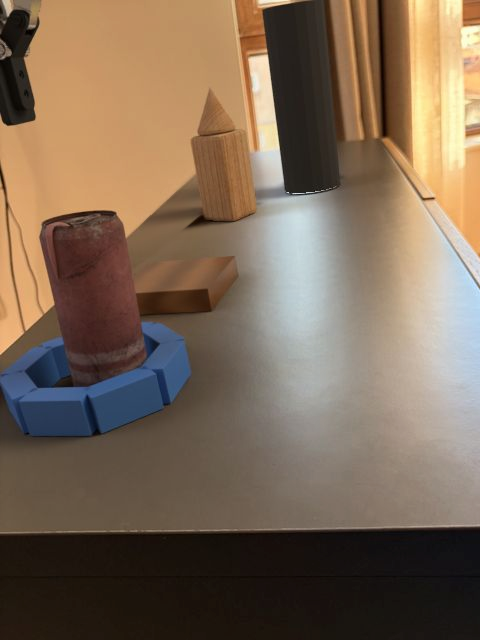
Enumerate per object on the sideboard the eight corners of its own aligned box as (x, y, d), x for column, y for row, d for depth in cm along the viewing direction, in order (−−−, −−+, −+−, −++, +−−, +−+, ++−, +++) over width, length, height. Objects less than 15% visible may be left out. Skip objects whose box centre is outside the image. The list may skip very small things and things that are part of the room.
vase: (342, 179, 121) (326, 1, 109) (338, 191, 112) (320, -3, 100) (288, 185, 123) (267, 11, 111) (280, 197, 114) (256, 9, 102)
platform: (114, 316, 69) (109, 294, 68) (152, 281, 78) (148, 262, 77) (211, 311, 66) (207, 288, 65) (238, 276, 75) (235, 255, 74)
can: (58, 402, 51) (15, 227, 45) (104, 368, 56) (71, 208, 50) (122, 410, 48) (85, 226, 43) (164, 374, 54) (136, 207, 48)
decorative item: (203, 221, 105) (179, 91, 97) (228, 211, 110) (208, 86, 101) (234, 222, 101) (212, 87, 93) (259, 211, 106) (240, 81, 98)
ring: (-23, 436, 48) (-36, 402, 47) (67, 355, 60) (58, 326, 59) (149, 436, 45) (139, 399, 43) (207, 350, 57) (201, 318, 56)
